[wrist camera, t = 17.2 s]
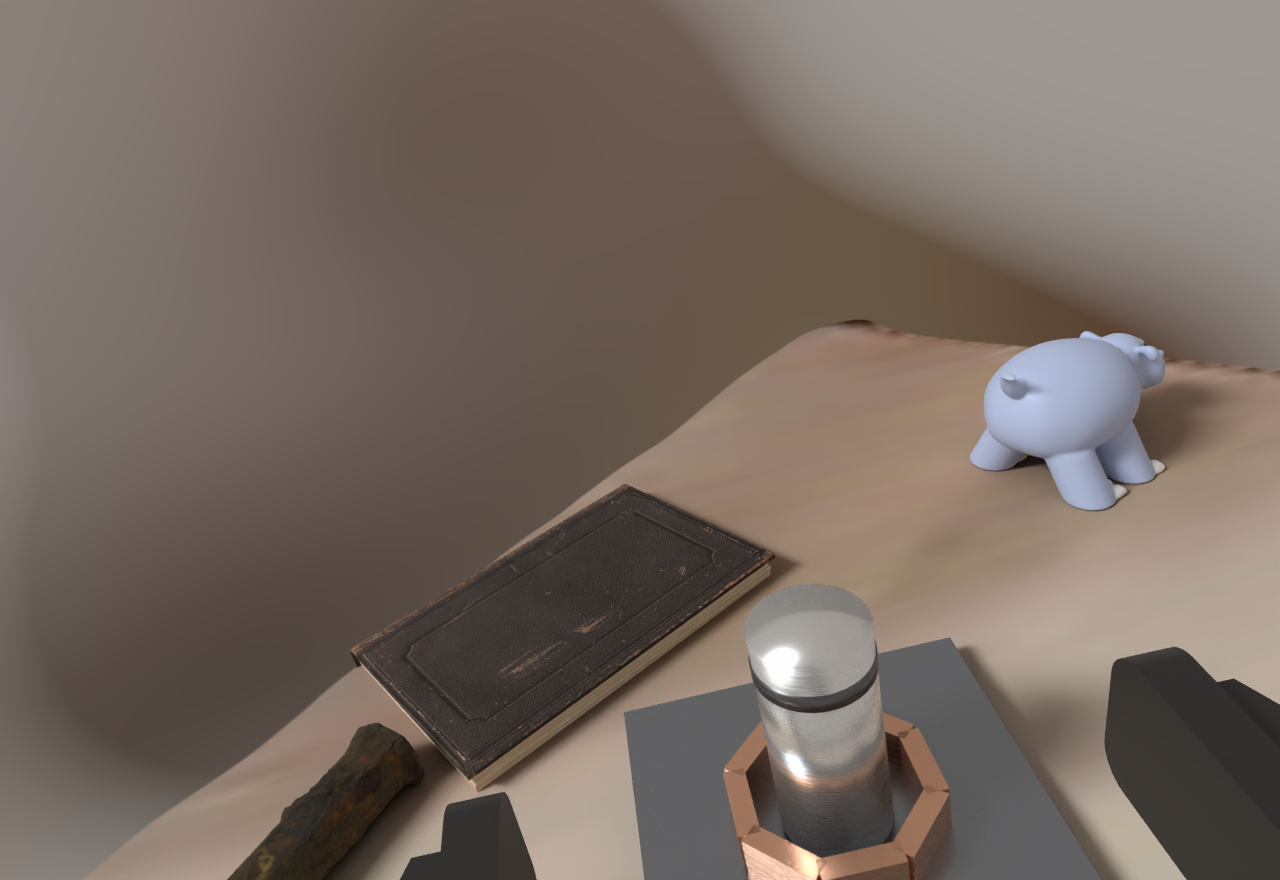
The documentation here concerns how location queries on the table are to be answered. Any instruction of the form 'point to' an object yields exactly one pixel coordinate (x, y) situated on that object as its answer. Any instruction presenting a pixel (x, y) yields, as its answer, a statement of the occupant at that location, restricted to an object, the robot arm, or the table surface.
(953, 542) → the table surface
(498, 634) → the hardcover book
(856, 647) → the steel piston
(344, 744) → the table surface
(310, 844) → the hand tool
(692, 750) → the grey square base plate
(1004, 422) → the hippopotamus toy
